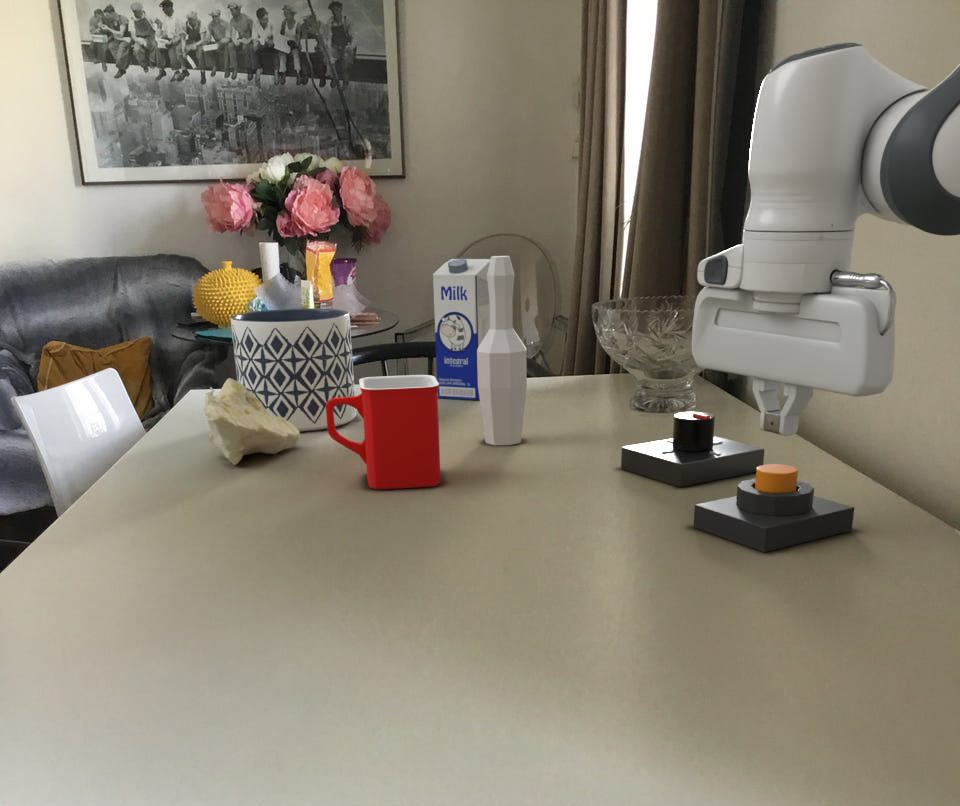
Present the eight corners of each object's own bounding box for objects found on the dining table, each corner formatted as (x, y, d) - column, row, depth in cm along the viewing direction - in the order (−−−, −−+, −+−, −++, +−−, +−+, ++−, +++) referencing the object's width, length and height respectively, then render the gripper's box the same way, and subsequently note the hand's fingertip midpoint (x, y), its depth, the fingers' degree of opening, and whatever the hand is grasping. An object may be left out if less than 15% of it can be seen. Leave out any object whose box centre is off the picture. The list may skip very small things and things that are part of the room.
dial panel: (701, 454, 124) (702, 431, 123) (763, 470, 116) (765, 447, 115) (620, 468, 119) (621, 445, 118) (680, 487, 111) (681, 462, 110)
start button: (774, 483, 98) (776, 461, 97) (804, 491, 95) (806, 469, 94) (746, 489, 96) (748, 467, 95) (775, 498, 93) (777, 475, 92)
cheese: (258, 455, 137) (161, 393, 128) (294, 414, 135) (198, 347, 126) (282, 519, 127) (178, 456, 117) (322, 475, 125) (219, 408, 115)
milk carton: (496, 392, 165) (493, 257, 157) (478, 400, 160) (475, 260, 152) (455, 390, 168) (451, 257, 160) (436, 397, 162) (431, 260, 154)
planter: (364, 428, 142) (357, 317, 137) (244, 436, 139) (232, 323, 133) (348, 407, 156) (341, 306, 151) (239, 414, 153) (228, 311, 147)
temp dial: (664, 446, 117) (665, 412, 116) (694, 441, 119) (696, 407, 118) (690, 453, 114) (692, 418, 112) (721, 448, 116) (723, 413, 114)
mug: (436, 468, 121) (433, 374, 116) (444, 487, 113) (440, 386, 109) (331, 474, 119) (324, 378, 115) (331, 493, 112) (323, 391, 107)
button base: (778, 508, 103) (782, 468, 101) (852, 530, 96) (857, 487, 94) (693, 527, 98) (695, 485, 96) (764, 552, 91) (768, 507, 89)
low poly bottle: (518, 434, 137) (516, 254, 128) (535, 444, 131) (534, 256, 123) (471, 438, 135) (466, 256, 126) (487, 448, 129) (483, 258, 121)
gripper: (925, 272, 81) (899, 450, 87) (736, 260, 97) (724, 410, 103) (869, 277, 78) (846, 460, 84) (684, 263, 94) (675, 417, 100)
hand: (778, 432), depth 93 cm, fingers closed
